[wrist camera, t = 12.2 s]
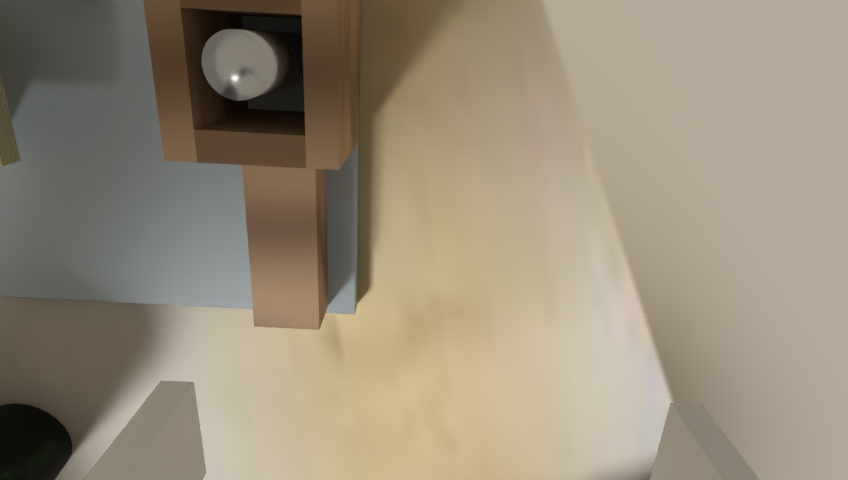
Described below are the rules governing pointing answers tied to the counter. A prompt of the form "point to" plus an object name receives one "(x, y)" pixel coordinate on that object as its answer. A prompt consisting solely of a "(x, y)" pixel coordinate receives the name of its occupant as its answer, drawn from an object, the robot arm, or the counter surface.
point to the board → (129, 172)
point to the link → (266, 138)
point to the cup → (31, 444)
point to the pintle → (252, 62)
